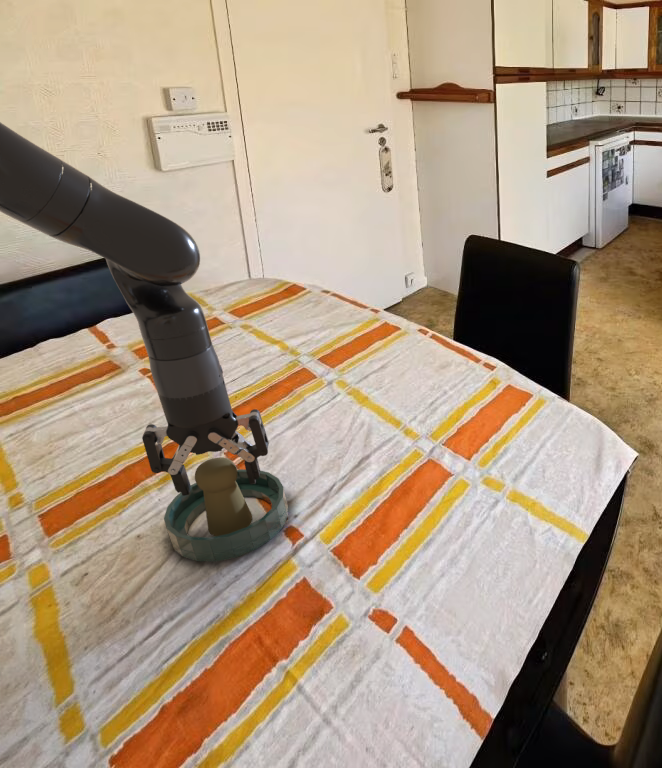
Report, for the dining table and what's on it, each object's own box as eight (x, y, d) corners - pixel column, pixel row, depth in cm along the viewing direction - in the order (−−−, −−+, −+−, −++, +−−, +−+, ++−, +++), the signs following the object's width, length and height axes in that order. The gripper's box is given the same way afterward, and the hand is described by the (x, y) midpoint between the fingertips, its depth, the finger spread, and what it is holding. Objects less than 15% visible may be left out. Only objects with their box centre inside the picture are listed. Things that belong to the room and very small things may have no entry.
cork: (258, 532, 87) (240, 468, 82) (211, 548, 84) (190, 483, 79) (250, 508, 92) (233, 446, 86) (206, 522, 89) (186, 459, 84)
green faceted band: (164, 580, 80) (153, 550, 78) (184, 506, 93) (175, 479, 91) (288, 555, 84) (281, 526, 81) (290, 488, 97) (284, 461, 94)
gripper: (118, 404, 72) (158, 513, 80) (248, 386, 76) (274, 493, 83) (133, 375, 78) (168, 479, 86) (253, 360, 82) (276, 461, 90)
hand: (220, 486), depth 85 cm, fingers open, 8 cm apart
